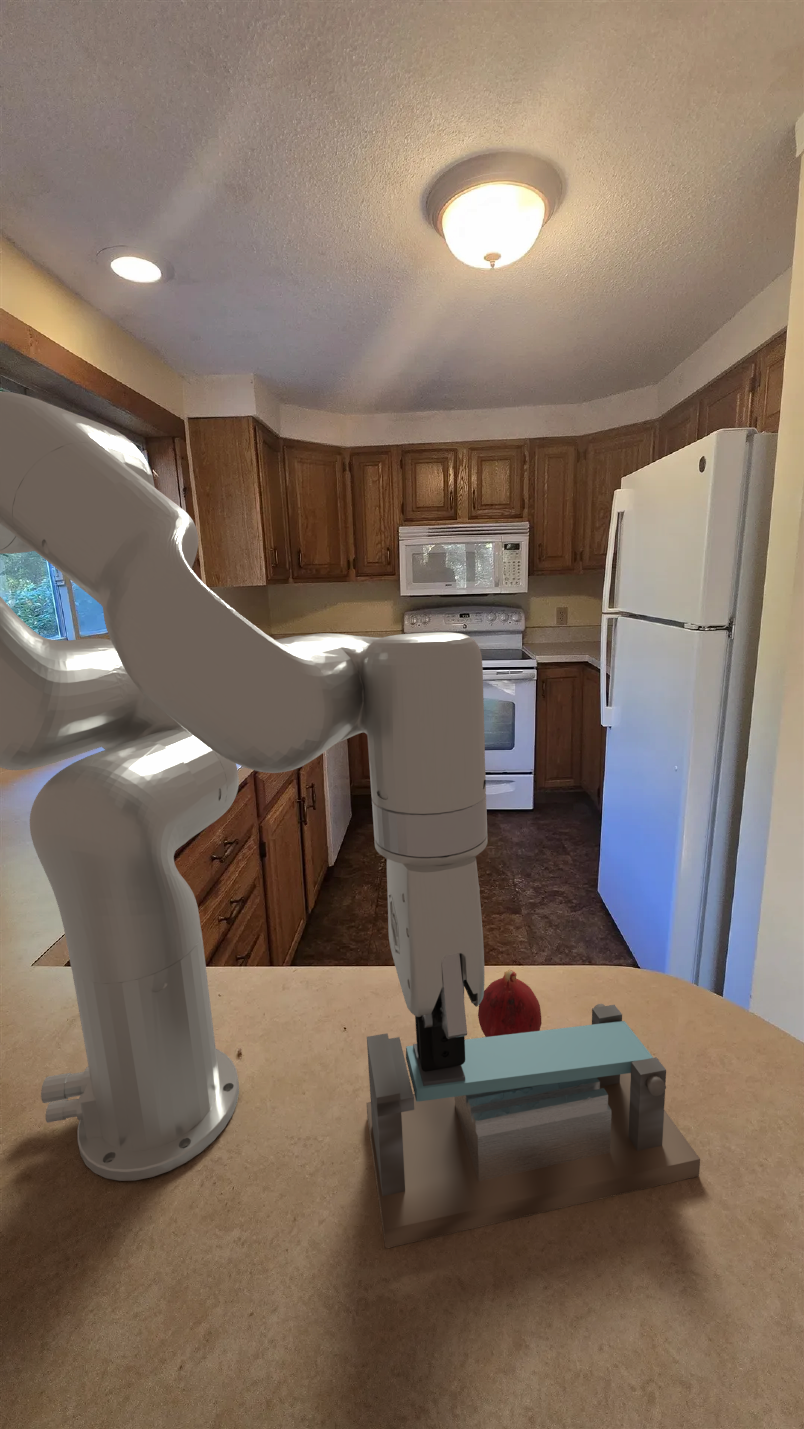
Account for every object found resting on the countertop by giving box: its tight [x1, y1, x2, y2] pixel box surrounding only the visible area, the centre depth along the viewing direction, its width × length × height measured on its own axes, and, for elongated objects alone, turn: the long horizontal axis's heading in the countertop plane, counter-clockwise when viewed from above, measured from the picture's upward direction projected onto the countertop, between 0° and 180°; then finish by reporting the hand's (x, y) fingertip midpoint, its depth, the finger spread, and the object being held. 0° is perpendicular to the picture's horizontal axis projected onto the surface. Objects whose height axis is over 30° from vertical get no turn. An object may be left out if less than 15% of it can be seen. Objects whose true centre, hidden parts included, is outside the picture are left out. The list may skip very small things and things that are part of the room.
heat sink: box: [455, 1078, 611, 1181], centre depth 44 cm, size 10×6×4 cm, turn 100°
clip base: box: [366, 1003, 701, 1249], centre depth 44 cm, size 23×10×10 cm, turn 100°
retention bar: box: [405, 1020, 654, 1102], centre depth 43 cm, size 18×4×1 cm, turn 100°
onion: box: [477, 969, 543, 1037], centre depth 54 cm, size 6×6×8 cm
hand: (441, 1059), depth 42 cm, fingers closed
